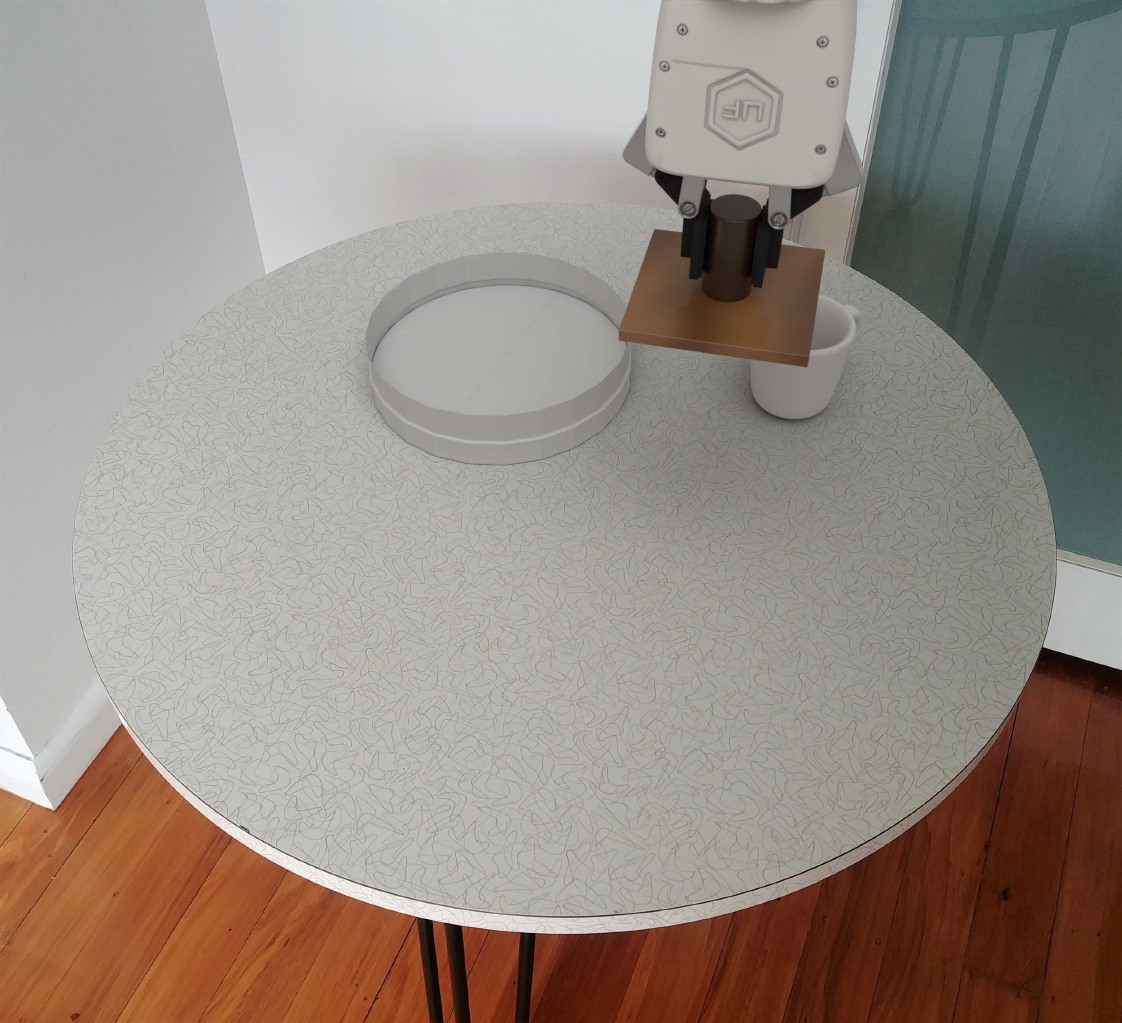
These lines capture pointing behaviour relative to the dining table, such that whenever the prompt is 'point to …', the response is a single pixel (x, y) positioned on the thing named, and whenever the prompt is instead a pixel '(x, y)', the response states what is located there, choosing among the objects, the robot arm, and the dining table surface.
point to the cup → (809, 365)
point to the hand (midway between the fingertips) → (728, 268)
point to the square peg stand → (726, 293)
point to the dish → (498, 358)
